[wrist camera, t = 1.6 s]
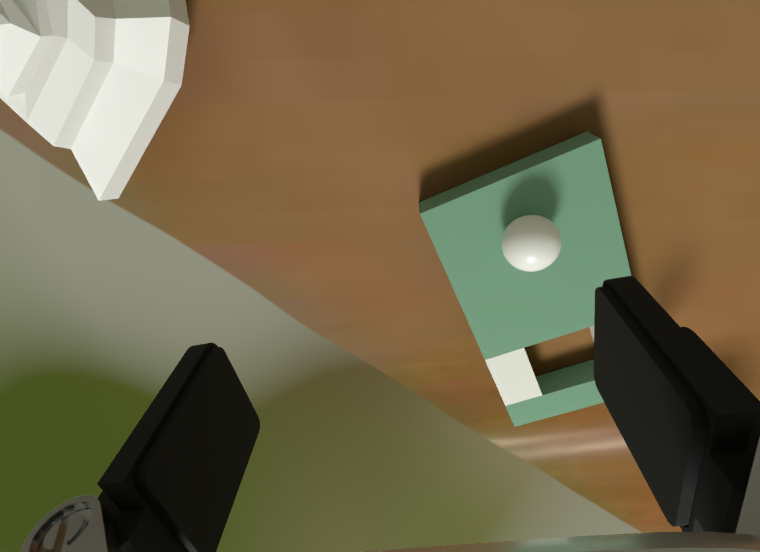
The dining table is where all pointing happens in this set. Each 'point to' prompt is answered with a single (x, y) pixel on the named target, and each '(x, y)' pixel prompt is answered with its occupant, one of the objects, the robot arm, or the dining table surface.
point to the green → (539, 288)
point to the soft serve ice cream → (94, 76)
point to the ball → (531, 243)
